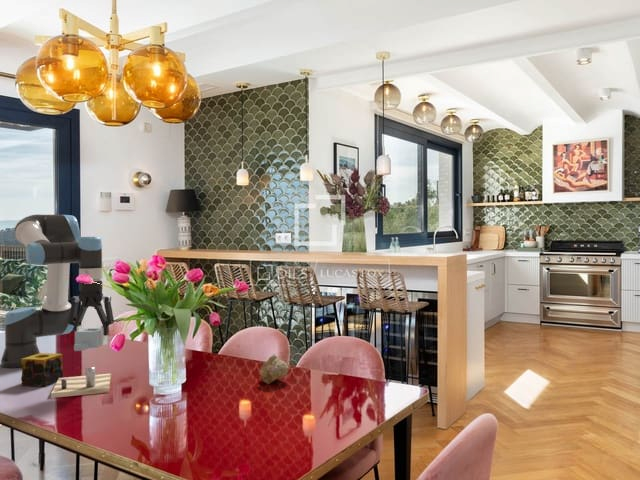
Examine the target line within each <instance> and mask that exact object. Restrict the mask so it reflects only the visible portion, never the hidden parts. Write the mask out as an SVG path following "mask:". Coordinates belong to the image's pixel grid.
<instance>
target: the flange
mask: <svg viewBox="0 0 640 480" xmlns="http://www.w3.org/2000/svg"><path fill="white" fill-rule="evenodd" d="M107 344H109V334H108V335H107ZM99 347H102V346H101V327H86V328H83V329H82V330H79V331H76V332H75V331H74V344H73V351H74V352H83V351H86V350H88V349H97V348H99Z"/></svg>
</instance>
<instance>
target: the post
mask: <svg viewBox="0 0 640 480" xmlns="http://www.w3.org/2000/svg"><path fill="white" fill-rule="evenodd" d="M95 375H96V367H95V366H86V368H85V376H86V387H87V388H90V387H95Z"/></svg>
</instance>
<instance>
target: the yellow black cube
mask: <svg viewBox="0 0 640 480" xmlns="http://www.w3.org/2000/svg"><path fill="white" fill-rule="evenodd" d="M21 360H22V367H21V377H20V379H21V386H24V387H40V388H41V387H42V388H46V387H48V386H50V385H53V384H56V383H57V381H58V379H59V378H63V376H64V373H63V371H64V369H63V354H62V353H46V352H45V353H42V352H40V353H39V354H36V355H32V356H29V357H26V358H22V359H21Z"/></svg>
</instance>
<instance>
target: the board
mask: <svg viewBox="0 0 640 480" xmlns="http://www.w3.org/2000/svg"><path fill="white" fill-rule="evenodd" d="M63 379H66V380H67V388H66V389H62V386H61V380H63ZM111 380H112V373H103V374H95V387H90V388H87V387H86V375H79V376H68V377H62V378H59V379H58V381H57V382H56V383H55V385H54V387H53V388H52V391H51V393H50V399H56V398H64V397H74V396H85V395H94V394H104V393H110V386H111Z"/></svg>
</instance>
